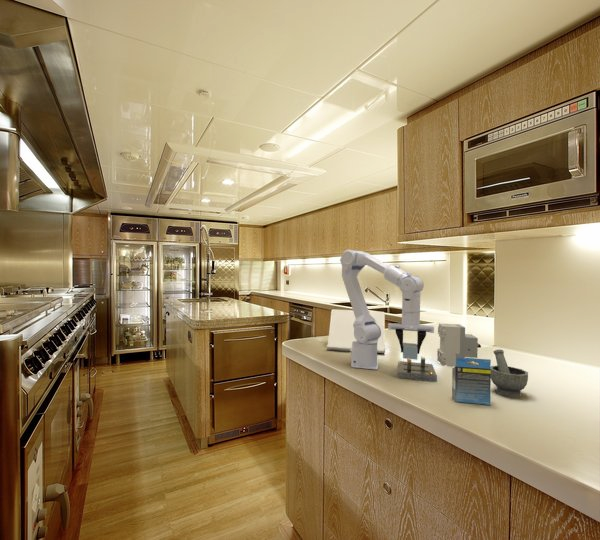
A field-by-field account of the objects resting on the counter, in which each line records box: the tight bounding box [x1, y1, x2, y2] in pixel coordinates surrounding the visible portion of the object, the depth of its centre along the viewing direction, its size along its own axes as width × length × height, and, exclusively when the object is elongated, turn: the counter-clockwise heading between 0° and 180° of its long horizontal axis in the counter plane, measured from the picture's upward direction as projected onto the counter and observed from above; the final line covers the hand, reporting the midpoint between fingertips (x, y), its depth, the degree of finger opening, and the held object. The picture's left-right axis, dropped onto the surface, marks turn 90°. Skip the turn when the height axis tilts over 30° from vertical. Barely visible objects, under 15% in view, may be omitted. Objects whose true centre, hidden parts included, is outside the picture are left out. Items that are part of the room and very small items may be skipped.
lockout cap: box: [402, 342, 419, 361], centre depth 109 cm, size 4×6×4 cm
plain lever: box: [420, 355, 426, 366], centre depth 116 cm, size 1×3×3 cm, turn 164°
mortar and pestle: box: [490, 349, 529, 399], centre depth 97 cm, size 11×9×12 cm
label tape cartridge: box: [451, 357, 492, 406], centre depth 90 cm, size 9×4×12 cm, turn 77°
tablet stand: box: [326, 309, 386, 353], centre depth 149 cm, size 18×25×17 cm
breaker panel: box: [397, 360, 438, 383], centre depth 113 cm, size 12×14×2 cm
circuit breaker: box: [436, 322, 482, 367], centre depth 127 cm, size 8×14×15 cm, turn 78°
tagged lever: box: [406, 359, 412, 370], centre depth 111 cm, size 1×3×3 cm, turn 164°
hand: (409, 352), depth 109 cm, fingers closed on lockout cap, 4 cm apart
